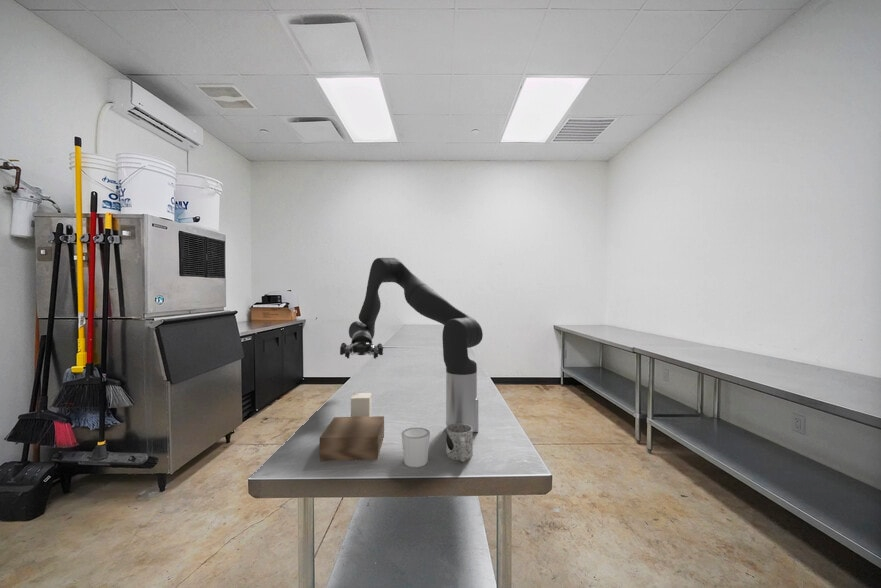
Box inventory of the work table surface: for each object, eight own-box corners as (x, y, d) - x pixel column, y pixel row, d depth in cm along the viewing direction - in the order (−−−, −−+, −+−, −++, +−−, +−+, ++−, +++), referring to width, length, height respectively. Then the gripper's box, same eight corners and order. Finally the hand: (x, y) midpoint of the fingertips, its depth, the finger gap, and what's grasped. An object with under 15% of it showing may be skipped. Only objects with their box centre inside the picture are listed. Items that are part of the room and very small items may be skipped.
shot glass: (395, 461, 83) (395, 432, 83) (416, 452, 88) (416, 424, 88) (415, 471, 78) (414, 440, 78) (435, 461, 83) (435, 432, 83)
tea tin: (371, 425, 106) (371, 392, 106) (369, 431, 101) (369, 397, 101) (353, 425, 106) (353, 393, 106) (350, 432, 101) (350, 398, 101)
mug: (445, 449, 90) (445, 423, 90) (470, 448, 90) (470, 422, 90) (448, 468, 80) (448, 439, 80) (477, 467, 80) (477, 438, 80)
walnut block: (384, 437, 98) (384, 416, 98) (377, 461, 84) (377, 436, 84) (334, 438, 97) (334, 417, 97) (319, 462, 83) (319, 437, 83)
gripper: (342, 331, 125) (339, 344, 110) (381, 332, 129) (384, 344, 113) (341, 351, 126) (338, 366, 111) (380, 352, 130) (383, 366, 114)
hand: (361, 355), depth 112 cm, fingers open, 8 cm apart
